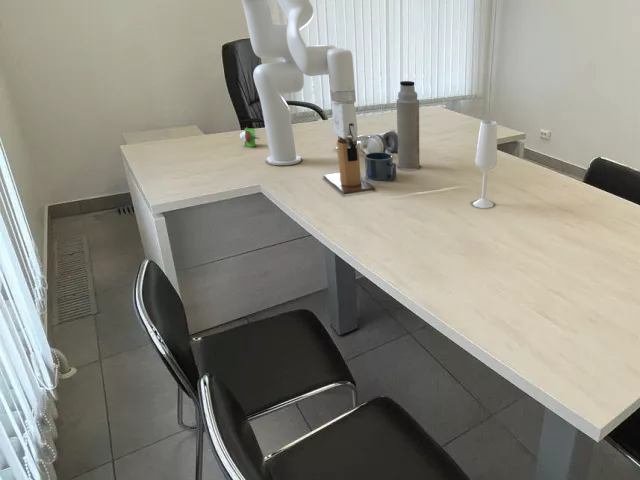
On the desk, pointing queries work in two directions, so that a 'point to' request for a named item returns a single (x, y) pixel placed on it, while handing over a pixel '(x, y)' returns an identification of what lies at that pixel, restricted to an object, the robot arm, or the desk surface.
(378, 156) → the mug
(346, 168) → the paper cup
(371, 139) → the headphones
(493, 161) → the champagne flute
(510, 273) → the desk surface
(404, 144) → the thermos bottle
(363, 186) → the serving board
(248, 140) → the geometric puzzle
